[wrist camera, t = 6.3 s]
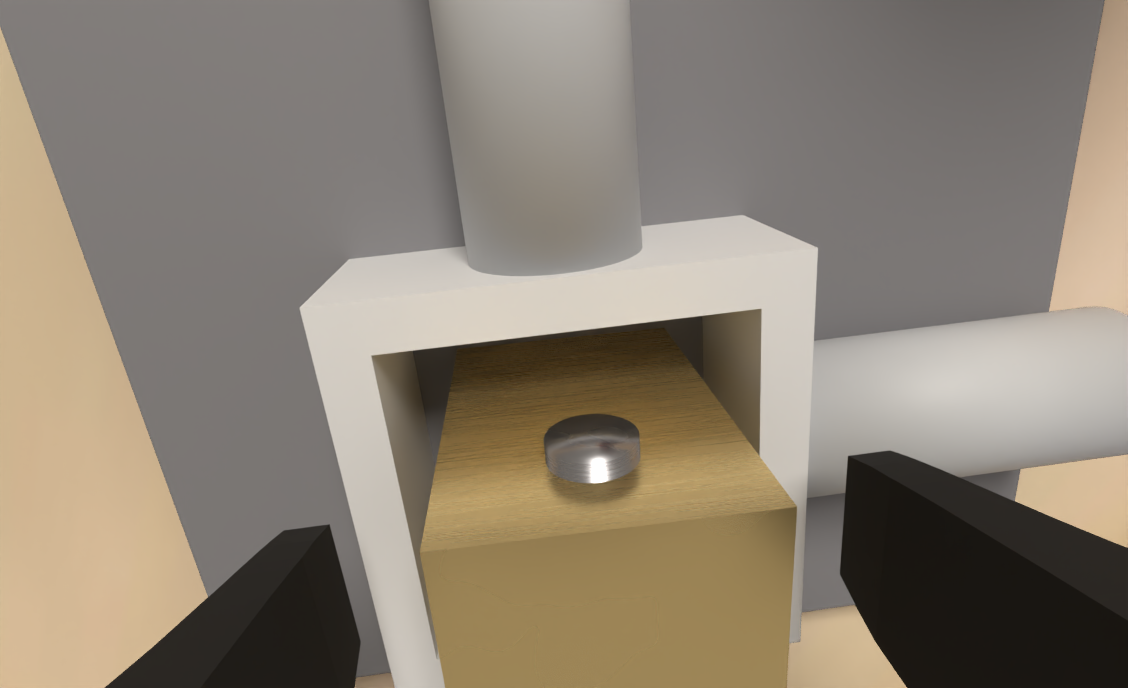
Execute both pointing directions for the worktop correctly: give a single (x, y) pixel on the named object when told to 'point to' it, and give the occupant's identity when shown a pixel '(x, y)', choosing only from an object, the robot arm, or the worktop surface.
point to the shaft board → (373, 167)
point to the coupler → (603, 524)
